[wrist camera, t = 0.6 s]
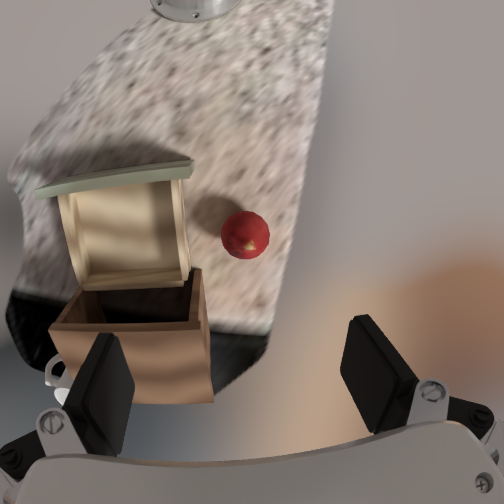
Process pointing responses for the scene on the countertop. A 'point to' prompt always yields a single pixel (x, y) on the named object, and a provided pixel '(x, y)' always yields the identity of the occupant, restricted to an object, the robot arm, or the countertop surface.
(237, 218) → the onion
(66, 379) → the mug
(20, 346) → the countertop surface
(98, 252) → the drawer
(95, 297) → the cabinet
